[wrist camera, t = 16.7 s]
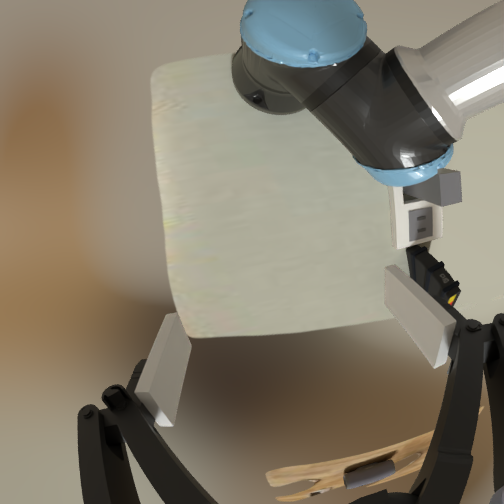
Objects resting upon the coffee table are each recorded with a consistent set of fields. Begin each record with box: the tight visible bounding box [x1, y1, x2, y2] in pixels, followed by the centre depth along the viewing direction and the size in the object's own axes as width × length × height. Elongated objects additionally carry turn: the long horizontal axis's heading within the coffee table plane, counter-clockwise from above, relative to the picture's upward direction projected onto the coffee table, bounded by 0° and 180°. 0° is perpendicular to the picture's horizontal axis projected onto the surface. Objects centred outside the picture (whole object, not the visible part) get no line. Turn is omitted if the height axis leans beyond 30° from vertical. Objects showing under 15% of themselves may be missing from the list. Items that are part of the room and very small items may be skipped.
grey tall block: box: [403, 168, 462, 207], centre depth 39 cm, size 5×5×12 cm
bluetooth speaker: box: [343, 460, 395, 489], centre depth 81 cm, size 23×9×10 cm, turn 101°
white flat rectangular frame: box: [388, 186, 443, 249], centre depth 44 cm, size 19×12×2 cm, turn 13°
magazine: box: [406, 245, 461, 306], centre depth 46 cm, size 4×13×15 cm, turn 24°
